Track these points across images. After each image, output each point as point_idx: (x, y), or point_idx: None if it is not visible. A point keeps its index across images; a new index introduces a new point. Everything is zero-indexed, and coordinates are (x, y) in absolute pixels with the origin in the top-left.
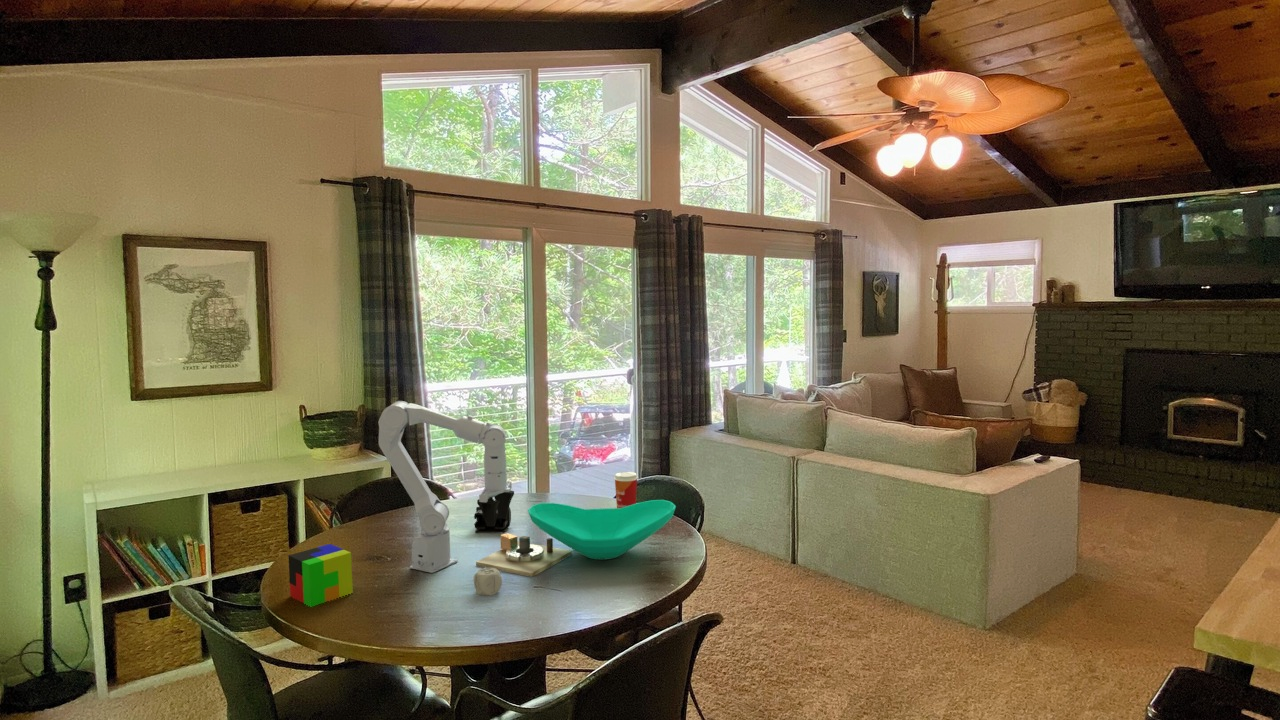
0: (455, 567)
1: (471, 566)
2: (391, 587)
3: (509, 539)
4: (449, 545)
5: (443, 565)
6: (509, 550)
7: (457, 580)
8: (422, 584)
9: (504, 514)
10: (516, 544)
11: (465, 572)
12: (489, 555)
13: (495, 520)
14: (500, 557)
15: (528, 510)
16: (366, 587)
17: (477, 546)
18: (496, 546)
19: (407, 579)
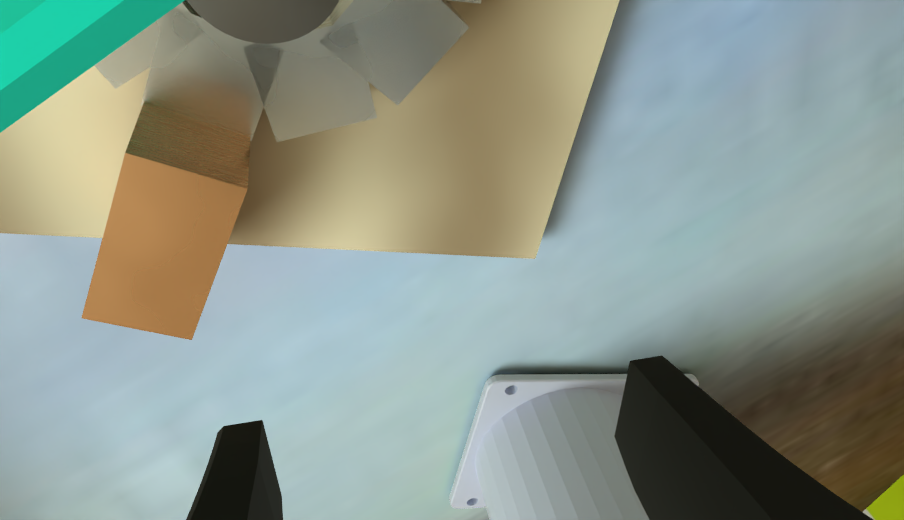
0: (581, 330)
1: (547, 258)
2: (862, 407)
3: (245, 194)
4: (576, 490)
5: (603, 389)
6: (330, 101)
7: (800, 193)
8: (842, 322)
9: (266, 494)
10: (157, 115)
11: (661, 229)
12: (377, 247)
13: (685, 410)
14: (392, 138)
15: (42, 87)
16: (848, 476)
17: (161, 442)
18: (76, 342)
19: (768, 415)
